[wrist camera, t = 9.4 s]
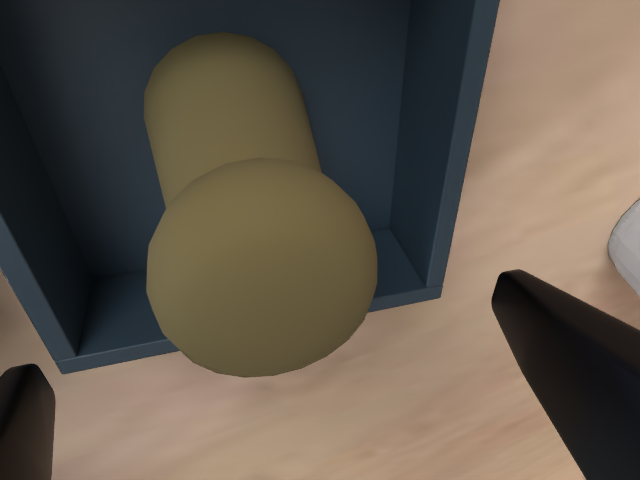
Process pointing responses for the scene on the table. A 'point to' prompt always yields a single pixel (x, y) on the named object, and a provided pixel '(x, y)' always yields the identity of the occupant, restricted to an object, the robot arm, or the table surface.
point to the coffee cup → (627, 246)
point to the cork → (248, 215)
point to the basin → (139, 167)
